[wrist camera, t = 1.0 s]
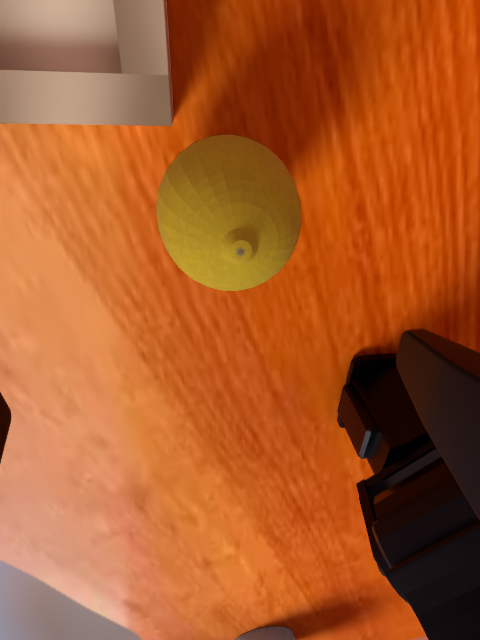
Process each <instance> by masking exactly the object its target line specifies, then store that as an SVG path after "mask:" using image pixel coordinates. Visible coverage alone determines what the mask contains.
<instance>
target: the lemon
mask: <svg viewBox="0 0 480 640" xmlns="http://www.w3.org/2000/svg"><path fill="white" fill-rule="evenodd" d="M156 212H157V221H158V229H159V232H160V235H161V237H162V240H163V242H164V245H165V247H166V250H167V251H168V253H169V254H170V256H171V257H172V259H173V260H174V261H175V263H176V264H177V266H178V267H179V268H180V269H181V270H182V271H184V272H185V273H186V274H187V275H188V276H189V277H191V278H192V279H193V280H195V281H197V282H199V283H201V284H203V285H205V286H207V287H210V288H214V289H219V290H223V291H239V290H244V289H248V288H252V287H255V286H257V285H259V284H261V283H263V282H266V281H268V280H269V279H270V278H271V277H273V276H274V275H275V274H277V273H278V272H279V271H280V270H281V269H282V267H283V266H284V265H285V264H286V263H287V261H288V260H289V259H290V257H291V255H292V252H293V250H294V248H295V246H296V244H297V242H298V238H299V233H300V229H301V202H300V198H299V195H298V191H297V188H296V185H295V181H294V179H293V178H292V176H291V174H290V173H289V171H288V169H287V168H286V166H285V164H284V163H283V162H282V160H281V159H279V158H278V157H277V156H276V155H275V154H274V153H273V152H272V151H271V150H270V149H269V148H268V147H266V146H264V145H262V144H260V143H258V142H256V141H254V140H252V139H250V138H247V137H242V136H237V135H232V134H227V135H214V136H210V137H207V138H204V139H202V140H199V141H196V142H194V143H193V144H191V145H190V146H189V147H187V148H186V149H185V150H183V151H182V152H180V153H179V154H178V155H177V157H176V158H175V159H174V160H173V162H172V163H171V164H170V166H169V167H168V168H167V170H166V172H165V175H164V177H163V179H162V182H161V184H160V187H159V191H158V198H157V205H156Z"/></svg>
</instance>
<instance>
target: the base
mask: <svg viewBox="0 0 480 640" xmlns="http://www.w3.org/2000/svg"><path fill="white" fill-rule="evenodd" d="M173 120H174V110H173V94H172V78H171V62H170V46H169V30H168V14H167V0H0V123H23V124H84V125H145V126H172V123H173Z"/></svg>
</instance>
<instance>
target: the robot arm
mask: <svg viewBox="0 0 480 640" xmlns="http://www.w3.org/2000/svg"><path fill="white" fill-rule="evenodd" d="M359 363H361V364H359ZM358 364H359V365H358ZM337 422H338V424H339V426H340V427H342V428H345V429H346V431H347V433H348V435H349V437H350V439H351V442H352V444H353V446H354V448H355V450H356V452H357V454H358V456H359V457H360V458H362V459H365V458H367V460H368V462H369V464H370V466H371V468H372V470H373V472H374V475H373V476H371V477H370V478H368V479H366V480H365V479H363V480H362V481H360V482H358V483H357V489H358V493H359V500H360V504H361V508H362V512H363V516H364V520H365V524H366V528H367V533H368V537H369V541H370V545H371V549H372V553H373V556H374V559H375V561H376V562H377V566H378V569H379V571H380V572H381V574H382V575H383V576H385V577H387V579H388V581H389V582H390V584H391V585H392V586H393V588H394V589H395V590H396V592H397V593H398V594H399V595H400V596H401V597H402V598H403V599H404V600H405V601H406V602H408V603H409V604H410V605H411V607H412V609H413V611H414V612H415V614H416V616H417V618H418V620H419V622H420V623H421V625H422V627H423V629H424V631H425V633H426V635H427V637H428V639H429V640H480V353H479V352H477V351H474V350H472V349H469V348H467V347H465V346H462V345H460V344H458V343H455V342H453V341H450V340H448V339H446V338H443V337H441V336H439V335H436V334H434V333H431V332H429V331H427V330H424V329H413V330H406V331H404V332H403V333H402V335H401V339H400V343H399V348H398V353H397V354H387V355H371V356H358V357H355V358H354V359H353V360H352V361H351V364H350V368H349V372H348V376H347V381H346V384H345V385H344V387H343V390H342V394H341V398H340V402H339V407H338V418H337ZM10 423H11V411H10V408H9V407H8V405H7V403H6V401H5V399H4V398H3V396H2V394H1V392H0V463H1V459H2V455H3V451H4V447H5V443H6V439H7V435H8V431H9V427H10Z"/></svg>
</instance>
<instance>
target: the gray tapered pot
mask: <svg viewBox="0 0 480 640" xmlns="http://www.w3.org/2000/svg"><path fill="white" fill-rule="evenodd" d="M235 640H295V637H294V634H293V631H292V630H291V629H289V628H286V627H280V626H272V627H263V628H258V629H255V630H252V631H249V632H246V633H245V634H242V635H240V636H239V637H237V638H236V639H235Z"/></svg>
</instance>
